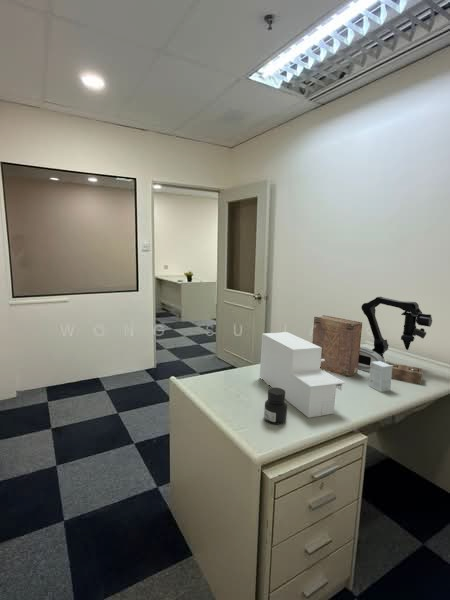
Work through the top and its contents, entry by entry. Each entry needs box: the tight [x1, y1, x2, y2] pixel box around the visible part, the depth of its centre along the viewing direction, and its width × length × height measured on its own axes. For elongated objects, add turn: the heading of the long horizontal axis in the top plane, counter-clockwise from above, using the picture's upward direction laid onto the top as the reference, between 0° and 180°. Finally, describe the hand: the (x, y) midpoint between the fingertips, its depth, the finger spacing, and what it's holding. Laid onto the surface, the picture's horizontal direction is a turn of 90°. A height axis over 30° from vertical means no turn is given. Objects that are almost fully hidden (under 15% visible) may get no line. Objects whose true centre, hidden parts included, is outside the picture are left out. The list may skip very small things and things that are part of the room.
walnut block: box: [385, 361, 424, 386], centre depth 177 cm, size 18×10×6 cm, turn 56°
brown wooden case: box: [311, 315, 363, 378], centre depth 187 cm, size 25×9×30 cm, turn 40°
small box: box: [368, 361, 393, 393], centre depth 162 cm, size 8×6×13 cm
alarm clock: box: [358, 346, 385, 373], centre depth 191 cm, size 23×6×13 cm, turn 42°
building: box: [259, 331, 346, 418], centre depth 152 cm, size 45×18×25 cm, turn 20°
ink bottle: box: [263, 387, 288, 425], centre depth 128 cm, size 10×9×12 cm
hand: (407, 349), depth 187 cm, fingers closed
